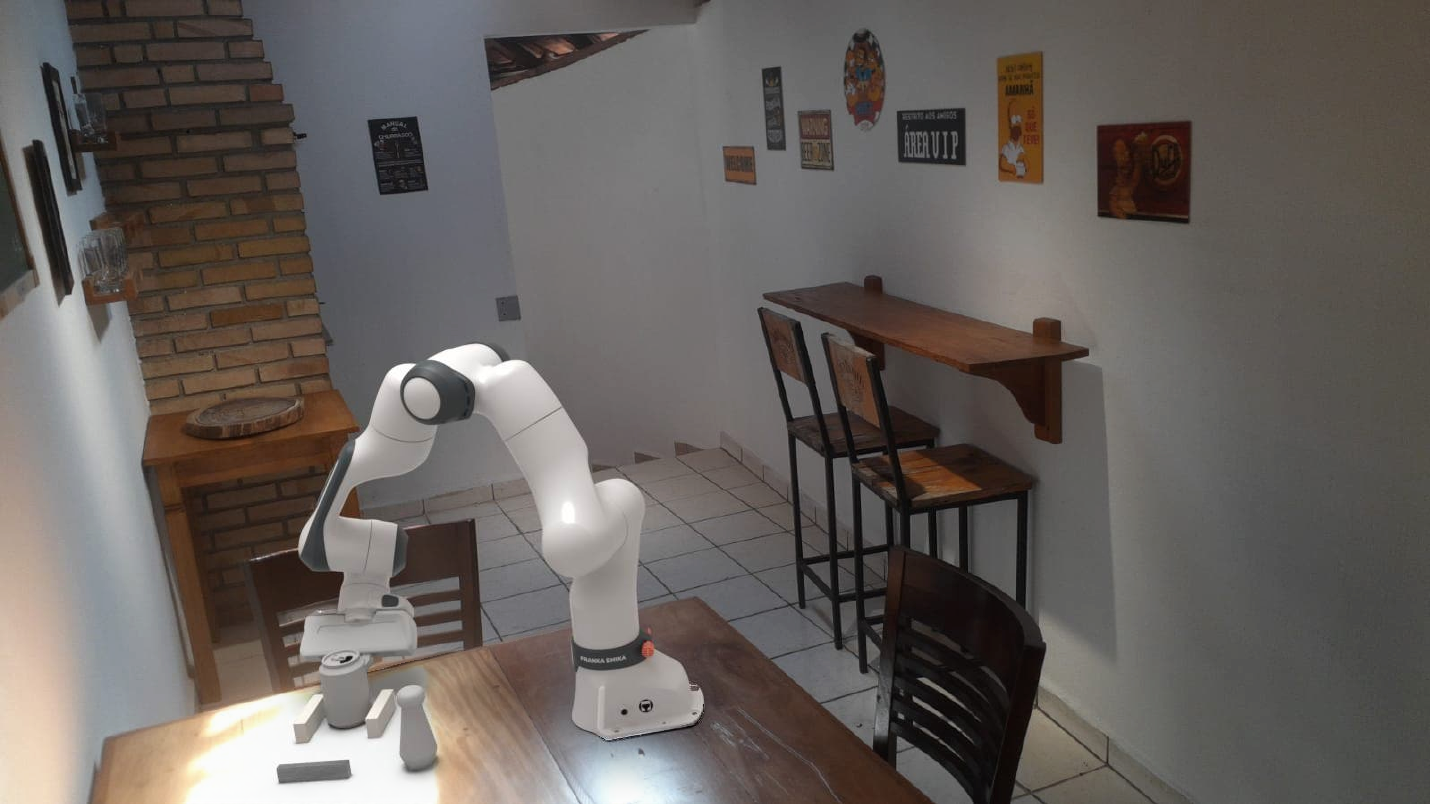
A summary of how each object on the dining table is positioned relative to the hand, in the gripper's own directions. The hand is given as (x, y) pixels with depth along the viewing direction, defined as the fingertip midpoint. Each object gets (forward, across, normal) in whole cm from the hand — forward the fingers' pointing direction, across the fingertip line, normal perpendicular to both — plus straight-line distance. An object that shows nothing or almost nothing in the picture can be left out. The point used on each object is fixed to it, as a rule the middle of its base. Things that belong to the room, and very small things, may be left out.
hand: (354, 682), depth 190 cm
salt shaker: (+18, +16, -11) cm, 26 cm away
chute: (+8, 0, -1) cm, 8 cm away
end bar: (+19, 0, -12) cm, 23 cm away
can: (+7, 0, 0) cm, 7 cm away
